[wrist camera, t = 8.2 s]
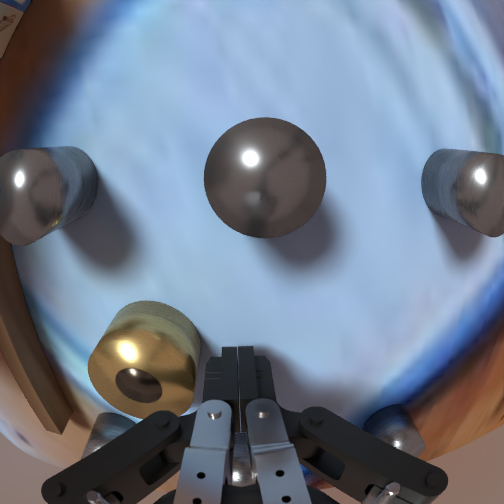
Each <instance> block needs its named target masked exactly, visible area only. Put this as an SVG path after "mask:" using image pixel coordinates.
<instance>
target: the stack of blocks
mask: <svg viewBox="0 0 504 504" xmlns="http://www.w3.org/2000/svg"><path fill="white" fill-rule="evenodd" d="M30 2H31V0H0V58H1V57H2V56H3V54H4V52H5V49H6V47H7V45H8V43H9V41H10V38H11V36H12V34H13V32H14V30H15V29H16V27H17V25H18V23H19V21H20V19H21V17H22V15H23V13H24V11H25V10H26V9H27V7H28V5H29V4H30Z"/></svg>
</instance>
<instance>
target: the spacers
mask: <svg viewBox="0 0 504 504" xmlns="http://www.w3.org/2000/svg"><path fill="white" fill-rule="evenodd" d="M204 186H205V191H206V195H207V198H208V201H209V203H210V205H211V207H212V209H213V210H214V212H215V213H216V214H217V216H218V217H219V218H220V219H221V220H222V221H223V222H224V223H225V224H226V225H228V226H229V227H230V228H232V229H234V230H235V231H237V232H239V233H242V234H244V235H247V236H251V237H257V238H274V237H279V236H283V235H286V234H288V233H291V232H293V231H295V230H296V229H298V228H299V227H301V226H302V225H304V224H305V223H306V222H307V221H308V220H309V219H310V218H311V217H312V216H313V215H314V213H315V212H316V210H317V209H318V207H319V205H320V203H321V201H322V198H323V195H324V192H325V187H326V169H325V163H324V160H323V157H322V155H321V152H320V150H319V148H318V147H317V145H316V144H315V142H314V141H313V140H312V139H311V137H310V136H309V135H308V134H307V133H305V132H304V131H303V130H302V129H300V128H299V127H297V126H296V125H294V124H292V123H290V122H287V121H284V120H281V119H276V118H267V117H265V118H255V119H250V120H246V121H243V122H241V123H239V124H237V125H235V126H233V127H232V128H230V129H229V130H227V131H226V132H225V133H224V134H223V135H222V136H221V137H220V138H219V139H218V140H217V141H216V143H215V144H214V146H213V147H212V149H211V151H210V153H209V155H208V158H207V161H206V165H205V170H204ZM96 192H97V174H96V170H95V167H94V164H93V162H92V161H91V159H90V158H89V156H88V155H87V154H86V153H85V152H83V151H82V150H80V149H78V148H76V147H71V146H64V147H44V148H29V149H16V150H11V151H9V152H7V153H5V154H4V155H3V156H2V157H1V158H0V235H1V236H2V237H3V238H4V239H5V240H7V241H8V242H10V243H12V244H14V245H18V246H26V245H29V244H31V243H33V242H35V241H36V240H38V239H40V238H42V237H44V236H46V235H47V234H49V233H51V232H53V231H55V230H57V229H59V228H60V227H62V226H64V225H66V224H68V223H70V222H72V221H74V220H76V219H78V218H80V217H82V216H83V215H84V214H85V213H86V212H87V211H88V210H89V209H90V207H91V206H92V204H93V202H94V200H95V196H96ZM422 192H423V196H424V199H425V201H426V203H427V205H428V206H429V208H430V209H431V210H432V211H433V212H434V213H436V214H438V215H441V216H443V217H445V218H448V219H450V220H453V221H455V222H458V223H460V224H462V225H465V226H467V227H469V228H471V229H474V230H476V231H478V232H480V233H483V234H485V235H487V236H489V237H498V236H500V235H502V234H504V155H500V154H493V153H485V152H477V151H467V150H456V149H440V150H437V151H436V152H434V153H433V154H432V155H431V156H430V157H429V158H428V160H427V162H426V164H425V166H424V169H423V173H422ZM134 425H136V424H135V423H134V422H133V421H131V420H130V419H128V418H126V417H124V416H121V415H118V414H115V413H101V414H99V415H98V417H97V419H96V421H95V424H94V426H93V429H92V431H91V434H90V436H89V439H88V442H87V444H86V447H85V449H84V452H83V455H82V457H81V459H83V458H85V457H86V456H88V455H90V454H91V453H93V452H94V451H96V450H98V449H99V448H101V447H102V446H104V445H106V444H107V443H109V442H110V441H112V440H113V439H115V438H116V437H118V436H119V435H121V434H122V433H124V432H125V431H127V430H128V429H130V428H131V427H133V426H134ZM364 431H366V432H367V433H369V434H371V435H373V436H375V437H377V438H379V439H381V440H382V441H384V442H386V443H388V444H390V445H392V446H394V447H396V448H398V449H400V450H402V451H404V452H406V453H408V454H410V455H412V456H414V457H416V458H417V457H418V456H419V455H420V454H421V453H422V452H423V451H424V449H425V447H426V444H425V442H424V440H423V439H422V437H421V435H420V433H419V431H418V430H417V428H416V426H415V424H414V423H413V421H412V419H411V417H410V415H409V414H408V412H407V410H406V409H405V407H404V406H403V405H399V404H396V405H391V406H388V407H385V408H383V409H381V410H379V411H378V412H376V413H375V414H373V415H372V416H371V417H370V418H369V419H368V420H367V421H366V423H365V425H364ZM252 484H253V481H252V475H251V469H250V463H249V457H248V451H247V438H246V433H237V434H236V442H235V451H234V464H233V478H232V485H234V486H239V487H243V486H248V485H252Z"/></svg>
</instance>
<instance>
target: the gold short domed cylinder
mask: <svg viewBox="0 0 504 504" xmlns="http://www.w3.org/2000/svg"><path fill="white" fill-rule="evenodd" d="M200 349H201V342H200V338H199V335H198V332H197V330H196V328H195V327H194V325H193V324H192V323H191V321H190V320H189V319H188V318H187V317H186V316H185V315H183V314H182V313H181V312H179V311H178V310H176V309H175V308H173V307H171V306H168V305H166V304H163V303H160V302H155V301H138V302H134V303H130V304H128V305H126V306H125V307H123V308H122V309H121V310H120V311H119V312H118V313H117V314H116V316H115V317H114V319H113V320H112V322H111V324H110V325H109V327H108V328H107V330H106V331H105V333H104V335H103V336H102V338H101V339H100V341H99V343H98V344H97V346H96V348H95V349H94V351H93V353H92V354H91V356H90V358H89V361H88V374H89V377H90V380H91V382H92V384H93V386H94V388H95V389H96V391H97V392H98V393H99V394H100V395H101V396H102V398H103V399H104V400H106V401H107V402H108V403H109V404H111V405H112V406H113V407H115V408H116V409H118V410H120V411H122V412H124V413H126V414H128V415H131V416H133V417H137V418H140V419H145V418H146V417H148V416H149V415H150V414H152V413H154V412H156V411H160V410H166V411H171V412H173V413H175V414H176V415H177V416H180V415H182V414H183V413H185V412H186V411H187V410H188V409H189V408H190V406H191V404H192V402H193V399H194V391H195V384H196V377H197V370H198V363H199V357H200Z"/></svg>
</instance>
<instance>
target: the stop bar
mask: <svg viewBox="0 0 504 504" xmlns="http://www.w3.org/2000/svg"><path fill="white" fill-rule="evenodd" d="M0 349H1V351H2V353H3V355H4V358H5V360H6V362H7V364H8V366H9V368H10V370H11V372H12V374H13V376H14V378H15V380H16V381H17V383H18V385H19V387H20V389H21V391H22V392H23V394H24V396H25V398H26V399H27V401H28V403H29V404H30V406H31V408H32V409H33V411H34V412H35V414H36V416H37V417H38V419H39V420H40V422H41V423H42V425H43V426H44V428H45V429H46V430H47V431H50V432H54V433H57V434H60V435H62V433H63V431H64V429H65V427H66V425H67V423H68V421H69V418H70V416H71V414H72V412H73V411H72V410H71V408H70V406H69V404H68V402H67V400H66V398H65V397H64V395H63V393H62V391H61V389H60V387H59V385H58V383H57V381H56V378H55V376H54V374H53V372H52V370H51V368H50V365H49V363H48V361H47V358H46V356H45V354H44V351H43V349H42V346H41V344H40V341H39V339H38V336H37V334H36V331H35V328H34V325H33V323H32V320H31V317H30V314H29V311H28V308H27V305H26V301H25V298H24V295H23V291H22V288H21V284H20V281H19V277H18V273H17V269H16V265H15V260H14V256H13V251H12V247H11V243H10V242H8V241H7V240H5V239H4V238H3V237H2V236H1V235H0Z"/></svg>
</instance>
